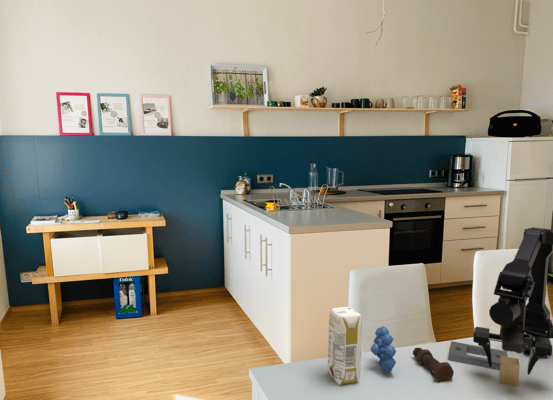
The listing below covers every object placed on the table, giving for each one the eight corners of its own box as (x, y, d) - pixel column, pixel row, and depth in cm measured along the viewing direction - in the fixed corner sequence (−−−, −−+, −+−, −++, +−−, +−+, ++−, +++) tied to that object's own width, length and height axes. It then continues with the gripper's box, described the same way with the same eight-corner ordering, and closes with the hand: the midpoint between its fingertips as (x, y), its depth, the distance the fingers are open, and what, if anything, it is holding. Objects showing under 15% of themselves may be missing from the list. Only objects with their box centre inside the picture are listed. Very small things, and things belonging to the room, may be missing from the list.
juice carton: (337, 387, 118) (339, 318, 116) (325, 372, 127) (326, 307, 125) (363, 383, 120) (365, 315, 118) (349, 369, 129) (351, 304, 127)
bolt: (418, 363, 137) (447, 386, 122) (405, 356, 136) (432, 379, 121) (427, 346, 137) (457, 368, 122) (415, 339, 136) (443, 360, 121)
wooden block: (499, 375, 126) (500, 355, 125) (517, 379, 124) (518, 358, 123) (499, 383, 122) (500, 362, 121) (518, 387, 120) (519, 365, 119)
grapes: (362, 360, 134) (363, 321, 133) (384, 358, 135) (385, 320, 134) (376, 379, 123) (378, 337, 121) (400, 378, 124) (402, 336, 122)
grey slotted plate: (451, 347, 144) (451, 340, 144) (506, 357, 137) (507, 351, 137) (448, 359, 135) (448, 353, 135) (507, 371, 128) (508, 364, 128)
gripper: (474, 319, 118) (470, 375, 119) (557, 332, 110) (552, 392, 111) (475, 306, 128) (472, 358, 129) (551, 317, 120) (547, 373, 121)
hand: (509, 370), depth 123 cm, fingers open, 9 cm apart
